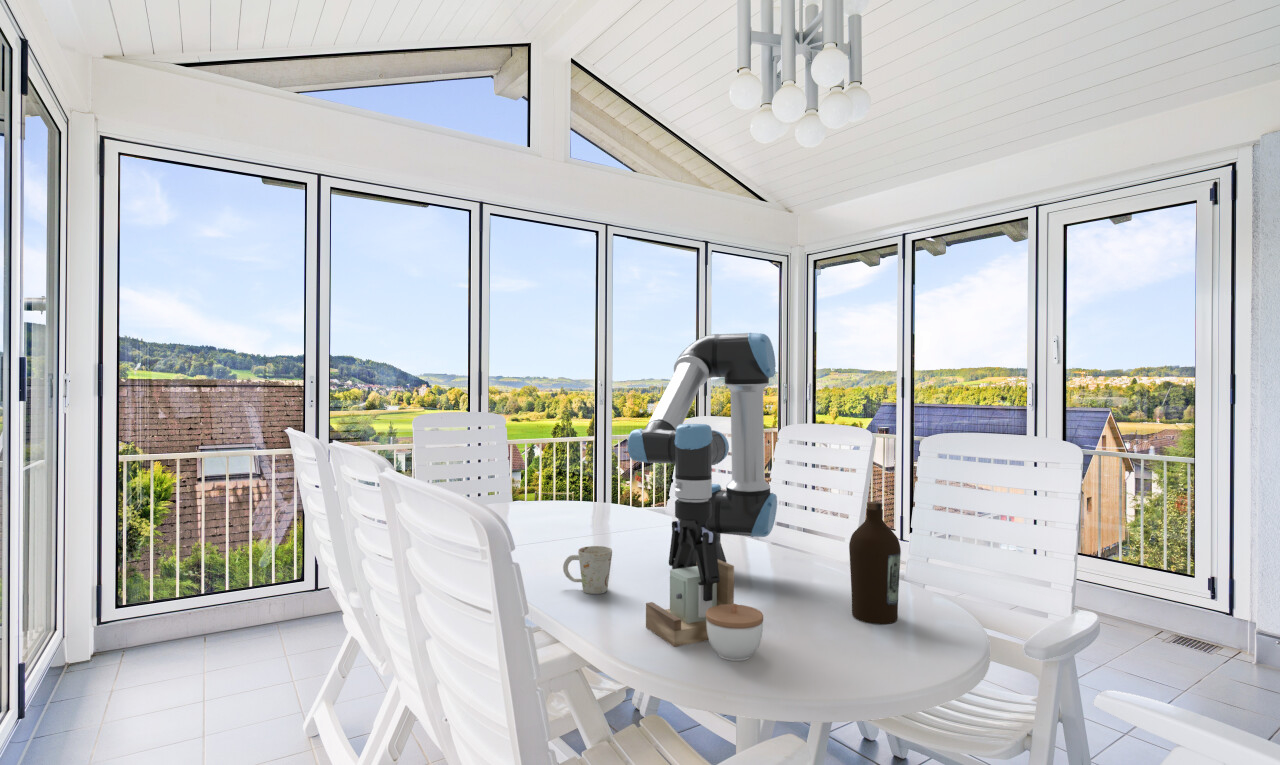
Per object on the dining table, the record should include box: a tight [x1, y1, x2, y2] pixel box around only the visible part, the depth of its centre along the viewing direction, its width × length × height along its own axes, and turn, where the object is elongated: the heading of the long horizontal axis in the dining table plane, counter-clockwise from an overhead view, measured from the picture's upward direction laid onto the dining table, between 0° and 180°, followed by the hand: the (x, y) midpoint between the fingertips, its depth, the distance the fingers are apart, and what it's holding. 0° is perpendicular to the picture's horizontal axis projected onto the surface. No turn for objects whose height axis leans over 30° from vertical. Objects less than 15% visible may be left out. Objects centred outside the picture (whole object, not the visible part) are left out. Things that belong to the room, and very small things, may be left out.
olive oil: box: [848, 501, 902, 625], centre depth 146 cm, size 11×11×25 cm
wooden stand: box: [645, 559, 735, 648], centre depth 137 cm, size 14×12×14 cm
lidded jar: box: [706, 603, 764, 662], centre depth 125 cm, size 11×11×9 cm
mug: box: [562, 545, 613, 595], centre depth 165 cm, size 8×13×10 cm, turn 78°
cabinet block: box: [669, 566, 717, 624], centre depth 137 cm, size 8×7×9 cm
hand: (692, 608), depth 137 cm, fingers open, 9 cm apart
